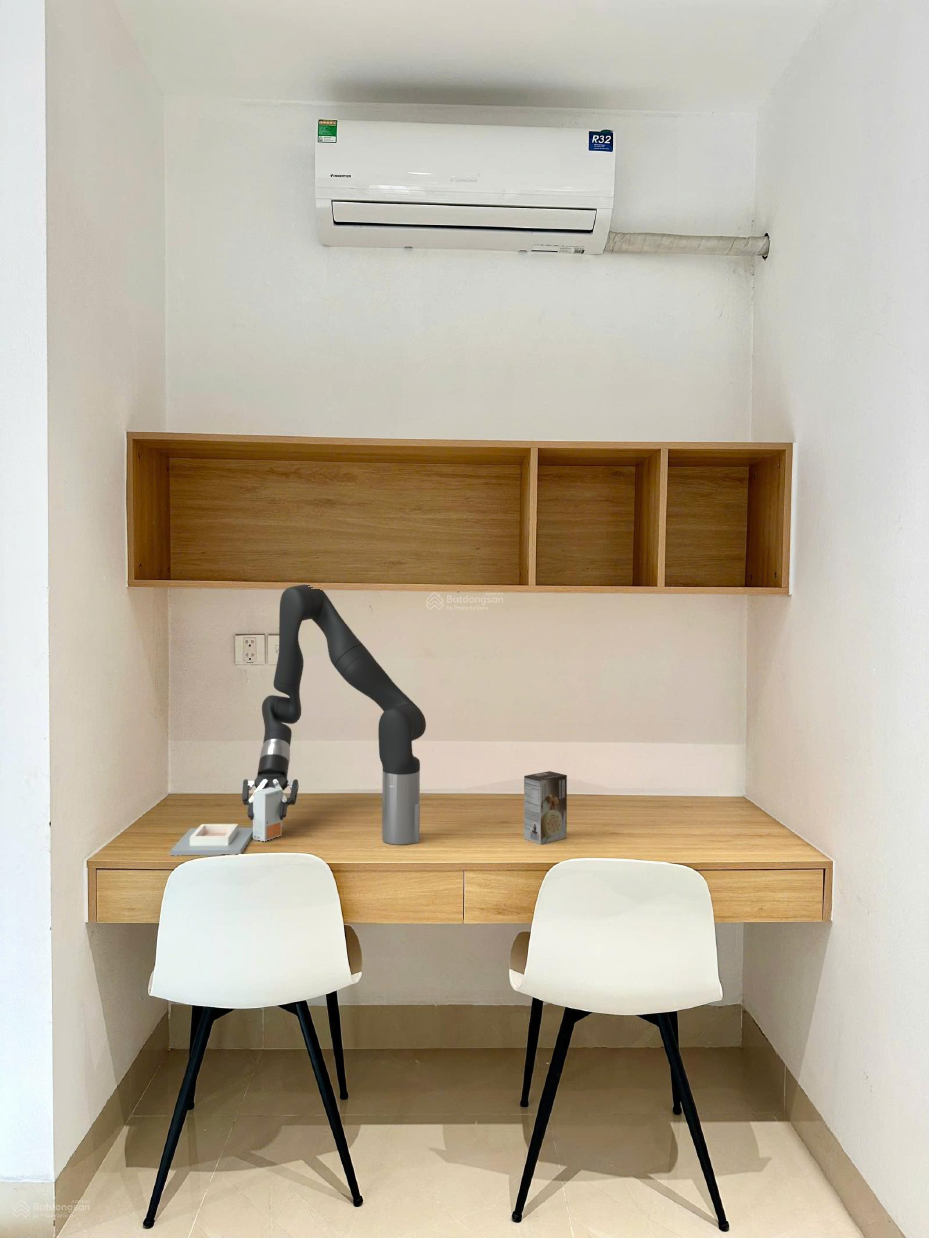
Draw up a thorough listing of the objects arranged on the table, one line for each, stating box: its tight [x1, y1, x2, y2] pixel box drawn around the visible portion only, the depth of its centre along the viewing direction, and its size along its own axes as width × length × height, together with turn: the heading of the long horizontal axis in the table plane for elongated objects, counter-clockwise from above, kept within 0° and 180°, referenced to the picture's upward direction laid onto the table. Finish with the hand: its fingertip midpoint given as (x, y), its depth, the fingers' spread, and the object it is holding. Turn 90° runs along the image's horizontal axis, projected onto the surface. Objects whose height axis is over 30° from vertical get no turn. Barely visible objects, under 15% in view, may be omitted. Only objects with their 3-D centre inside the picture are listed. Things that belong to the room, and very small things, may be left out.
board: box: [169, 823, 253, 857], centre depth 206 cm, size 16×18×3 cm
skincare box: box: [252, 787, 283, 843], centre depth 210 cm, size 6×4×12 cm
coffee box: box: [523, 770, 568, 845], centre depth 212 cm, size 9×6×16 cm
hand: (266, 818), depth 209 cm, fingers closed on skincare box, 6 cm apart
